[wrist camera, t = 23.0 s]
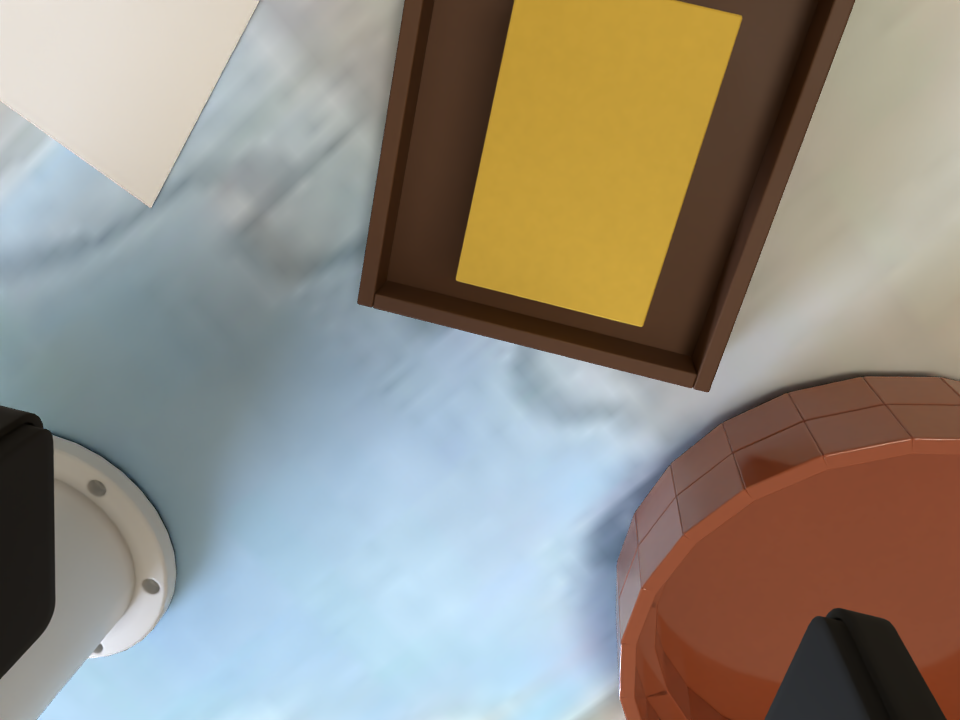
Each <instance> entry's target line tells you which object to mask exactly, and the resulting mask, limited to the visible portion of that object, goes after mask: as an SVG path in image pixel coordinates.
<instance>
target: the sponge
mask: <svg viewBox="0 0 960 720" xmlns="http://www.w3.org/2000/svg"><path fill="white" fill-rule="evenodd" d="M741 21H742V16H741V15H737V14H733V13H729V12H724V11H720V10H716V9H711V8H707V7H703V6H698V5H694V4H690V3H685V2H681V1H677V0H514V4H513V9H512V14H511V19H510V23H509V28H508V33H507V38H506V42H505V47H504V52H503V57H502V61H501V66H500V71H499V76H498V80H497V85H496V90H495V95H494V99H493V104H492V109H491V113H490V118H489V123H488V128H487V132H486V137H485V142H484V147H483V151H482V156H481V161H480V166H479V170H478V175H477V180H476V185H475V189H474V194H473V199H472V204H471V208H470V213H469V218H468V223H467V227H466V232H465V237H464V242H463V246H462V251H461V256H460V261H459V265H458V270H457V275H456V280H457V281H459V282H463V283H467V284H471V285H475V286H479V287H483V288H487V289H491V290H495V291H499V292H503V293H507V294H511V295H515V296H519V297H523V298H527V299H531V300H535V301H539V302H543V303H547V304H551V305H555V306H559V307H563V308H567V309H571V310H575V311H579V312H583V313H587V314H591V315H595V316H599V317H603V318H607V319H611V320H615V321H619V322H623V323H627V324H631V325H635V326H639V327H642V326H643V325H644V322H645V318H646V315H647V312H648V309H649V306H650V303H651V300H652V297H653V294H654V291H655V287H656V284H657V281H658V278H659V275H660V272H661V269H662V266H663V263H664V260H665V257H666V253H667V250H668V247H669V244H670V241H671V238H672V235H673V232H674V229H675V226H676V223H677V219H678V216H679V213H680V210H681V207H682V204H683V201H684V198H685V195H686V192H687V188H688V185H689V182H690V179H691V176H692V173H693V170H694V167H695V164H696V161H697V158H698V154H699V151H700V148H701V145H702V142H703V139H704V136H705V133H706V130H707V127H708V124H709V120H710V117H711V114H712V111H713V108H714V105H715V102H716V99H717V96H718V93H719V89H720V86H721V83H722V80H723V77H724V74H725V71H726V68H727V65H728V62H729V59H730V55H731V52H732V49H733V46H734V43H735V40H736V37H737V34H738V31H739V28H740V24H741Z"/></svg>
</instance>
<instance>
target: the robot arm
mask: <svg viewBox="0 0 960 720" xmlns="http://www.w3.org/2000/svg"><path fill="white" fill-rule="evenodd" d="M175 582H176V564H175V554H174V550H173V547H172V544H171V541H170V538H169V535H168V532H167V530H166V528H165V526H164V524H163V522H162V520H161V518H160V517H159V515H158V513H157V511H156V510H155V508H154V507H153V506H152V504H151V503H150V502H149V500H148V499H147V498H146V496H145V495H144V494H143V492H142V491H141V490H140V489H139V488H138V487H137V486H136V485H135V484H134V483H133V482H132V481H131V480H130V479H129V478H128V477H127V476H126V475H125V474H124V473H123V472H122V471H120V470H119V469H118V468H116V467H115V466H113V465H112V464H111V463H109V462H108V461H107V460H105V459H104V458H102V457H101V456H100V455H98V454H96V453H94V452H92V451H90V450H88V449H86V448H84V447H83V446H81V445H79V444H77V443H74V442H71V441H69V440H66V439H63V438H60V437H57V436H54V435H52V434H51V432H50V431H48V430H47V429H43V423H42V421H41V419H40V417H38V416H37V415H35V414H33V413H29V412H24V411H20V410H16V409H12V408H8V407H4V406H0V720H37V719H38V717H39V716H40V715H41V714H42V713H43V711H44V710H45V709H46V708H47V707H48V705H49V704H50V703H51V702H52V701H53V699H54V698H55V697H56V696H57V695H58V693H59V692H60V691H61V690H62V688H63V687H64V686H65V685H66V684H67V682H68V681H69V680H70V679H71V678H72V676H73V675H74V674H75V673H76V672H77V670H78V669H79V668H80V667H81V666H82V664H83V663H84V662H85V661H86V660H87V659H89V658H97V657H105V656H110V655H113V654H116V653H119V652H122V651H125V650H127V649H129V648H131V647H132V646H134V645H135V644H137V643H139V642H140V641H142V640H143V639H144V638H145V637H146V636H147V635H148V634H149V633H150V632H151V631H152V630H153V629H154V628H155V626H156V625H157V623H158V622H159V621H160V619H161V618H162V616H163V615H164V614H165V612H166V611H167V609H168V607H169V604H170V602H171V599H172V597H173V594H174V590H175ZM764 720H947V719H946V717H945V716H944V714H943V712H942V710H941V708H940V707H939V705H938V703H937V701H936V700H935V698H934V696H933V694H932V693H931V691H930V689H929V687H928V686H927V684H926V682H925V680H924V678H923V677H922V675H921V673H920V671H919V670H918V668H917V666H916V664H915V663H914V661H913V659H912V657H911V656H910V654H909V652H908V650H907V648H906V647H905V645H904V643H903V641H902V640H901V638H900V636H899V634H898V633H897V631H896V629H895V627H894V626H893V625H892V624H891V622H890V621H888V620H886V619H884V618H880V617H876V616H871V615H867V614H863V613H859V612H855V611H851V610H847V609H842V608H834V609H832V610H831V611H830V612H829V613H828V614H827V615H826V617H822V616H816V617H815V618H813V619H812V620H811V622H810V624H809V625H808V627H807V630H806V632H805V634H804V636H803V638H802V640H801V642H800V644H799V647H798V649H797V651H796V653H795V655H794V657H793V659H792V662H791V664H790V666H789V668H788V670H787V672H786V674H785V676H784V679H783V681H782V683H781V685H780V687H779V689H778V691H777V694H776V696H775V698H774V700H773V702H772V704H771V706H770V709H769V711H768V713H767V715H766V717H765V719H764Z"/></svg>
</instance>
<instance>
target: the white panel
mask: <svg viewBox="0 0 960 720" xmlns="http://www.w3.org/2000/svg"><path fill="white" fill-rule="evenodd" d="M259 1H260V0H0V101H1V102H2V103H4V104H5V105H7V106H8V107H9V108H11V109H12V110H14V111H15V112H16V113H18V114H19V115H21V116H22V117H23V118H25V119H26V120H28V121H29V122H30V123H32V124H33V125H35V126H36V127H38V128H39V129H40V130H42V131H43V132H45V133H46V134H47V135H49V136H50V137H52V138H53V139H54V140H56V141H57V142H59V143H60V144H61V145H63V146H64V147H66V148H67V149H68V150H70V151H71V152H73V153H74V154H75V155H77V156H78V157H80V158H81V159H82V160H84V161H85V162H87V163H88V164H89V165H91V166H92V167H94V168H95V169H96V170H98V171H99V172H101V173H102V174H103V175H105V176H106V177H108V178H109V179H110V180H112V181H113V182H115V183H116V184H117V185H119V186H120V187H122V188H123V189H125V190H126V191H127V192H129V193H130V194H132V195H133V196H134V197H136V198H137V199H139V200H140V201H141V202H143V203H144V204H146V205H147V206H148V207H150V208H151V207H152V205H153V203H154V201H155V199H156V198H157V196H158V194H159V192H160V190H161V188H162V186H163V184H164V182H165V180H166V178H167V177H168V175H169V173H170V171H171V169H172V167H173V165H174V163H175V161H176V159H177V157H178V156H179V154H180V152H181V150H182V148H183V146H184V144H185V142H186V140H187V138H188V136H189V135H190V133H191V131H192V129H193V127H194V125H195V123H196V121H197V119H198V117H199V115H200V114H201V112H202V110H203V108H204V106H205V104H206V102H207V100H208V98H209V96H210V94H211V92H212V91H213V89H214V87H215V85H216V83H217V81H218V79H219V77H220V75H221V73H222V71H223V70H224V68H225V66H226V64H227V62H228V60H229V58H230V56H231V54H232V52H233V50H234V49H235V47H236V45H237V43H238V41H239V39H240V37H241V35H242V33H243V31H244V29H245V28H246V26H247V24H248V22H249V20H250V18H251V16H252V14H253V12H254V10H255V8H256V7H257V5H258V3H259Z"/></svg>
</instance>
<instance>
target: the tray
mask: <svg viewBox="0 0 960 720" xmlns="http://www.w3.org/2000/svg"><path fill="white" fill-rule="evenodd" d="M677 1H681V2H685V3H690V4H694V5H698V6H703V7H707V8H711V9H716V10H720V11H724V12H729V13H733V14H737V15H741V16H742V21H741V24H740V28H739V31H738V34H737V37H736V40H735V43H734V46H733V49H732V52H731V55H730V59H729V62H728V65H727V68H726V71H725V74H724V77H723V80H722V83H721V86H720V89H719V93H718V96H717V99H716V102H715V105H714V108H713V111H712V114H711V117H710V120H709V124H708V127H707V130H706V133H705V136H704V139H703V142H702V145H701V148H700V151H699V154H698V158H697V161H696V164H695V167H694V170H693V173H692V176H691V179H690V182H689V185H688V188H687V192H686V195H685V198H684V201H683V204H682V207H681V210H680V213H679V216H678V219H677V223H676V226H675V229H674V232H673V235H672V238H671V241H670V244H669V247H668V250H667V253H666V257H665V260H664V263H663V266H662V269H661V272H660V275H659V278H658V281H657V284H656V287H655V291H654V294H653V297H652V300H651V303H650V306H649V309H648V312H647V315H646V318H645V322H644V325H643V326H642V327H639V326H635V325H631V324H627V323H623V322H619V321H615V320H611V319H607V318H603V317H599V316H595V315H591V314H587V313H583V312H579V311H575V310H571V309H567V308H563V307H559V306H555V305H551V304H547V303H543V302H539V301H535V300H531V299H527V298H523V297H519V296H515V295H511V294H507V293H503V292H499V291H495V290H491V289H487V288H483V287H479V286H475V285H471V284H467V283H463V282H459V281H457V280H456V275H457V270H458V265H459V261H460V256H461V251H462V246H463V242H464V237H465V232H466V227H467V223H468V218H469V213H470V208H471V204H472V199H473V194H474V189H475V185H476V180H477V175H478V170H479V166H480V161H481V156H482V151H483V147H484V142H485V137H486V132H487V128H488V123H489V118H490V113H491V109H492V104H493V99H494V95H495V90H496V85H497V80H498V76H499V71H500V66H501V61H502V57H503V52H504V47H505V42H506V38H507V33H508V28H509V23H510V19H511V14H512V9H513V4H514V0H405V2H404V9H403V15H402V22H401V28H400V34H399V41H398V47H397V53H396V60H395V66H394V72H393V79H392V85H391V91H390V98H389V104H388V110H387V117H386V123H385V129H384V136H383V142H382V148H381V155H380V161H379V168H378V174H377V180H376V187H375V193H374V199H373V206H372V212H371V218H370V225H369V231H368V237H367V244H366V250H365V256H364V263H363V269H362V275H361V282H360V288H359V295H358V301H357V303H358V304H360V305H363V306H367V307H373V308H375V309H379V310H383V311H387V312H391V313H395V314H399V315H403V316H407V317H411V318H415V319H419V320H423V321H427V322H431V323H435V324H439V325H443V326H447V327H451V328H455V329H458V330H462V331H466V332H470V333H474V334H478V335H482V336H486V337H490V338H494V339H498V340H502V341H506V342H510V343H514V344H518V345H522V346H526V347H530V348H534V349H538V350H542V351H546V352H550V353H554V354H557V355H561V356H565V357H569V358H573V359H577V360H581V361H585V362H589V363H593V364H597V365H601V366H605V367H609V368H613V369H617V370H621V371H625V372H629V373H633V374H637V375H641V376H645V377H649V378H652V379H656V380H660V381H664V382H668V383H672V384H676V385H680V386H684V387H688V388H692V387H693V388H694V389H696V390H700V391H704V392H709V390H710V388H711V385H712V382H713V380H714V377H715V374H716V372H717V369H718V366H719V364H720V361H721V358H722V356H723V353H724V350H725V348H726V345H727V342H728V340H729V337H730V334H731V331H732V329H733V326H734V323H735V321H736V318H737V315H738V313H739V310H740V307H741V305H742V302H743V299H744V297H745V294H746V291H747V289H748V286H749V283H750V281H751V278H752V275H753V273H754V270H755V267H756V265H757V262H758V259H759V257H760V254H761V251H762V249H763V246H764V243H765V241H766V238H767V235H768V233H769V230H770V227H771V225H772V222H773V219H774V217H775V214H776V211H777V209H778V206H779V203H780V201H781V198H782V195H783V192H784V190H785V187H786V184H787V182H788V179H789V176H790V174H791V171H792V168H793V166H794V163H795V160H796V158H797V155H798V152H799V150H800V147H801V144H802V142H803V139H804V136H805V134H806V131H807V128H808V126H809V123H810V120H811V118H812V115H813V112H814V110H815V107H816V104H817V102H818V99H819V96H820V94H821V91H822V88H823V86H824V83H825V80H826V78H827V75H828V72H829V70H830V67H831V64H832V61H833V59H834V56H835V53H836V51H837V48H838V45H839V43H840V40H841V37H842V35H843V32H844V29H845V27H846V24H847V21H848V19H849V16H850V13H851V11H852V8H853V5H854V3H855V0H677Z"/></svg>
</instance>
